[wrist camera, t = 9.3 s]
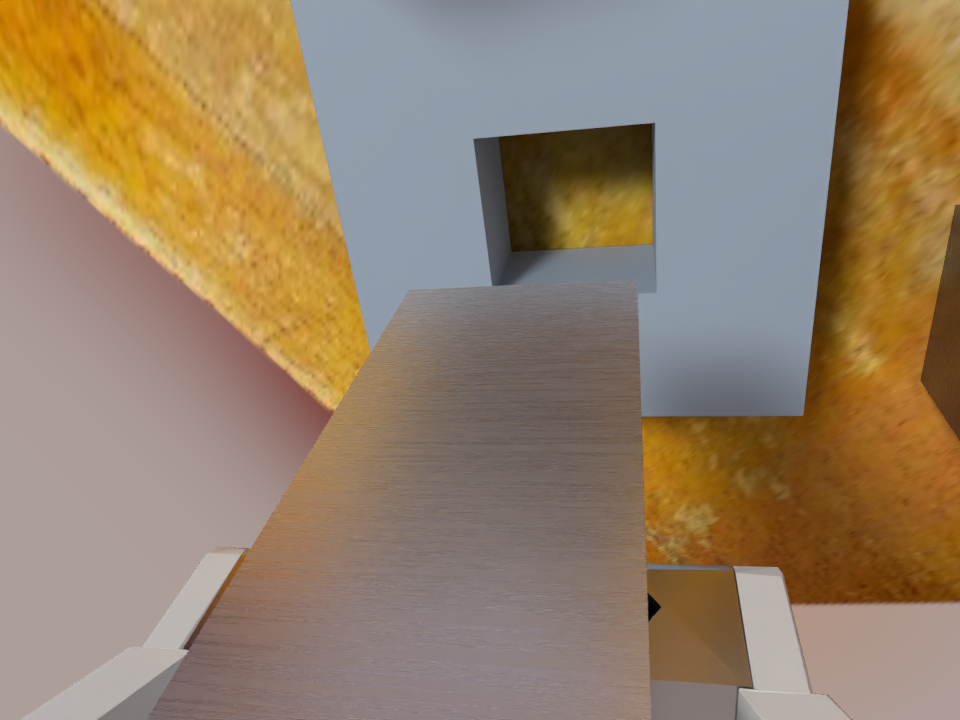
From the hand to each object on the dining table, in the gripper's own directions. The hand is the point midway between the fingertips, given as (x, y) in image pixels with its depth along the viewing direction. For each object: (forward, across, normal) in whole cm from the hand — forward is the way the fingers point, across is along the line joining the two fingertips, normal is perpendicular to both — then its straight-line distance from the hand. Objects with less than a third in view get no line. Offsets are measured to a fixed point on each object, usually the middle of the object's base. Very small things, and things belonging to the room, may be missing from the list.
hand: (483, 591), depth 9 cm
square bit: (+5, 0, 0) cm, 5 cm away
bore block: (+18, 0, 0) cm, 18 cm away
